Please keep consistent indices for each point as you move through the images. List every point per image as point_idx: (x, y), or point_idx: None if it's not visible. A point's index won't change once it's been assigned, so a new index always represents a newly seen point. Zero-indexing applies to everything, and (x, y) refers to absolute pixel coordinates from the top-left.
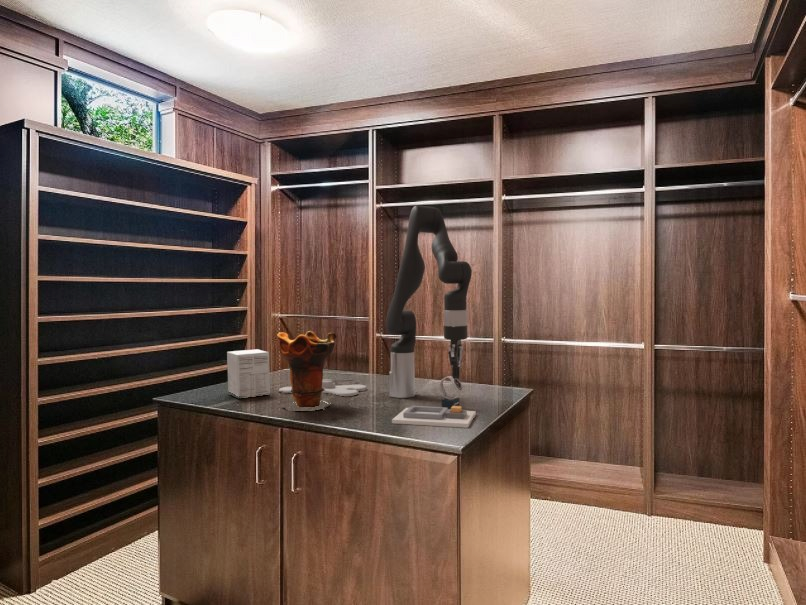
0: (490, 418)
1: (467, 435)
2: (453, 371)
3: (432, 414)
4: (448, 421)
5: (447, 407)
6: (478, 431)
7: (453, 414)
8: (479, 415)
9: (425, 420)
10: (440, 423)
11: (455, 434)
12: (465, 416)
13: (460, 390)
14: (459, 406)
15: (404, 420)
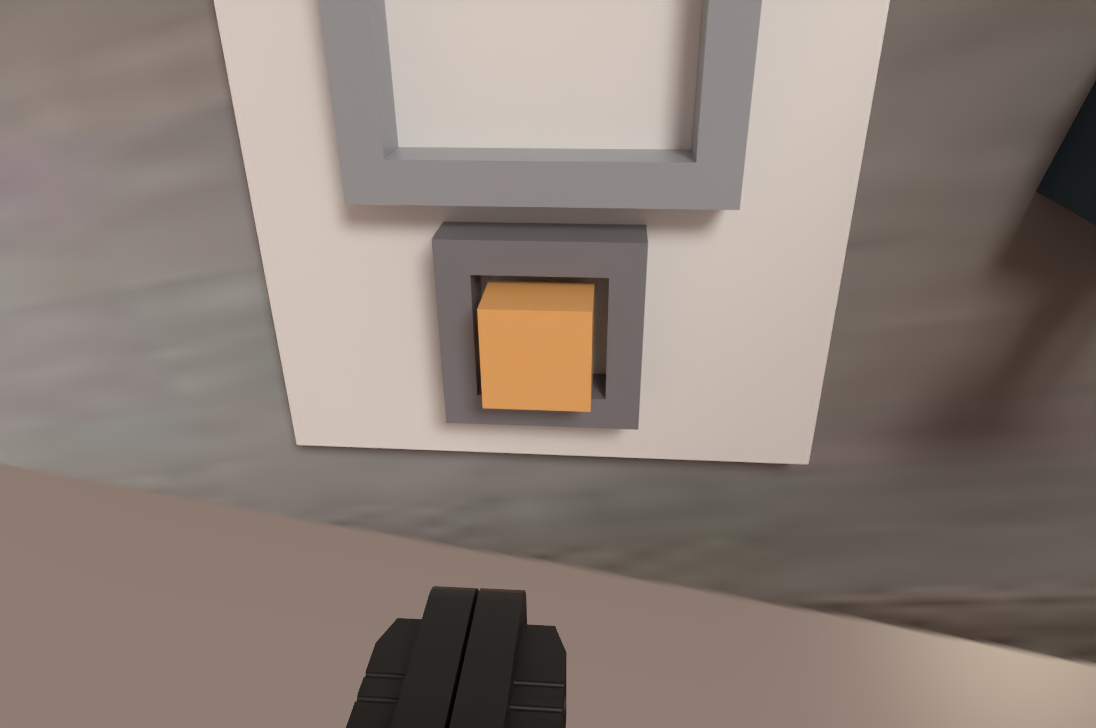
0: (674, 558)
1: (96, 445)
2: (350, 721)
3: (331, 91)
4: (314, 272)
5: (1088, 121)
6: (239, 505)
7: (440, 318)
8: (777, 474)
9: (260, 10)
10: (256, 196)
11: (76, 359)
12: None
13: None
14: (574, 390)
15: None
